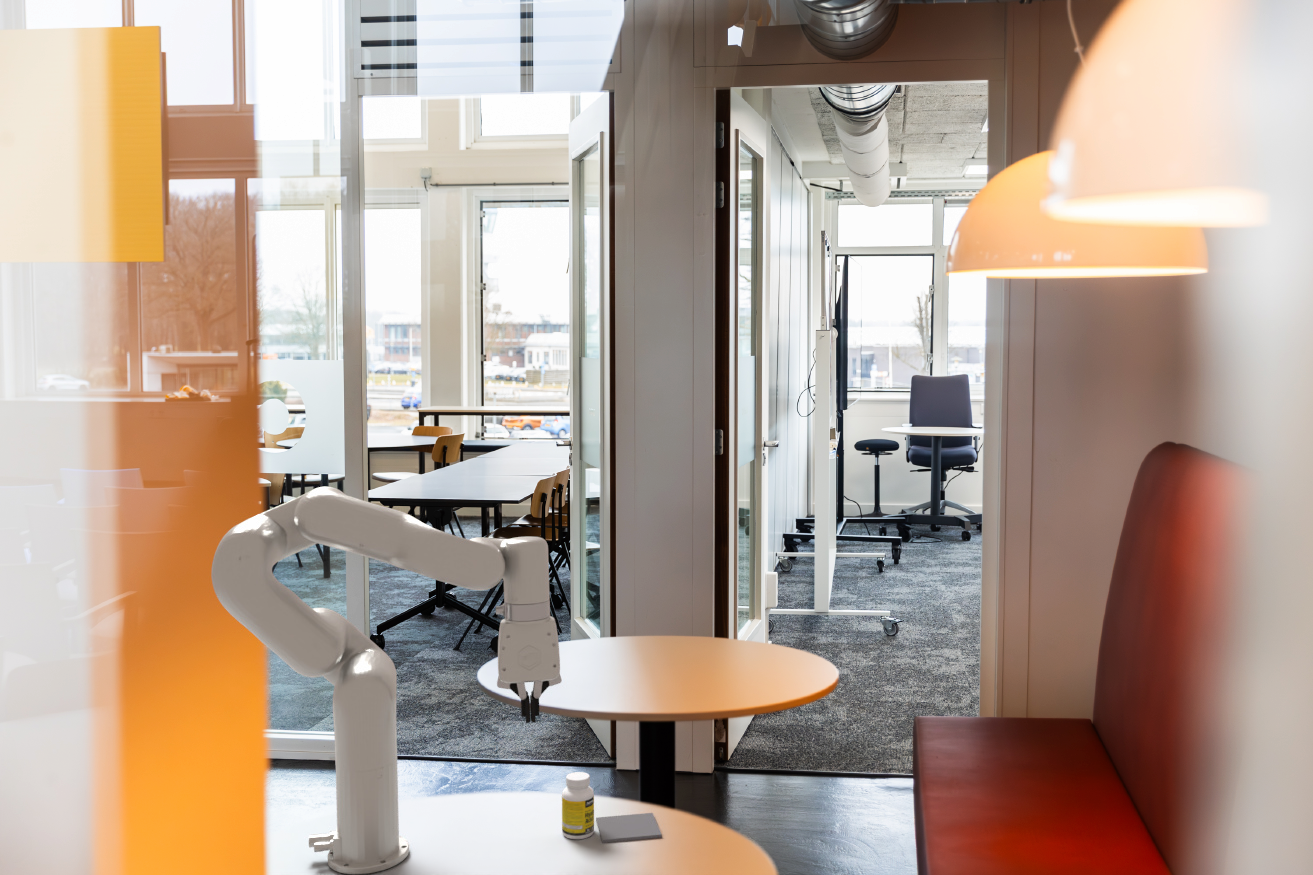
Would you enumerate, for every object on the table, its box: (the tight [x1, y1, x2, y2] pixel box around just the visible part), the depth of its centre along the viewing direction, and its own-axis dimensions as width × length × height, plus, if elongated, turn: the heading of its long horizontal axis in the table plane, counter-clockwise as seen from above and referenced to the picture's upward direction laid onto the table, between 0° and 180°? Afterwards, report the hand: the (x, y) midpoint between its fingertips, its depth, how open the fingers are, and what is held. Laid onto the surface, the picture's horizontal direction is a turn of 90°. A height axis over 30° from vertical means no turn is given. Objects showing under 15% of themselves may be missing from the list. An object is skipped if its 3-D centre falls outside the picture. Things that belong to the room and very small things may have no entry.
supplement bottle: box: [561, 771, 595, 840], centre depth 162 cm, size 5×5×10 cm
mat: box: [595, 812, 663, 844], centre depth 164 cm, size 10×9×1 cm
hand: (530, 719), depth 161 cm, fingers closed
